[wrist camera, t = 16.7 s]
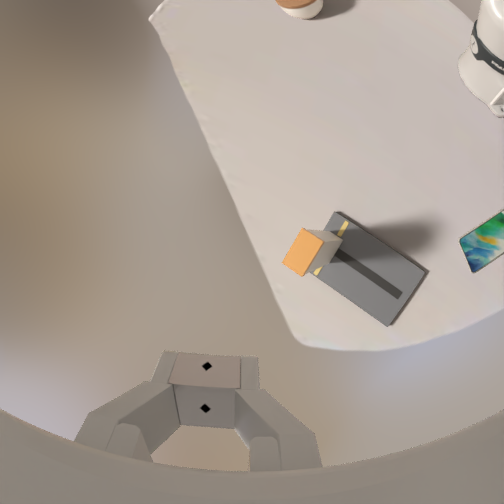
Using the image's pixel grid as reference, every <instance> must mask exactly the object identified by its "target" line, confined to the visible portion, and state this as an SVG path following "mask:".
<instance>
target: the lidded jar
mask: <svg viewBox="0 0 504 504" xmlns="http://www.w3.org/2000/svg"><path fill="white" fill-rule="evenodd" d="M276 2H277V3H278V5H279V6H280V7H281V8H282V9H283V10H284V11H285V12H286V13H287V14H288V15H290V16H292V17H295V18H299V19H310V18H313V17H315V16H316V15H317V14H318V13H319V12H320V11H321V9H322V7H323V0H276Z"/></svg>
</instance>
